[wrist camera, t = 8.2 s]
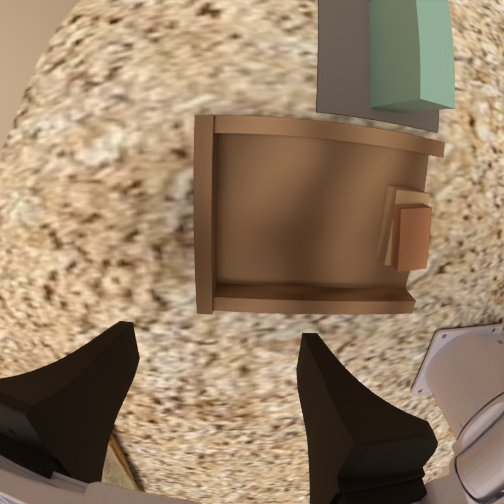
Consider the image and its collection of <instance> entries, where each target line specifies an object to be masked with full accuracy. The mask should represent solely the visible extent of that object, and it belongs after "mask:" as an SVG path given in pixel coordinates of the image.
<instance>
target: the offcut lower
mask: <svg viewBox="0 0 504 504" xmlns="http://www.w3.org/2000/svg"><path fill="white" fill-rule="evenodd" d="M429 195H430V194H429V193H426V192H424V191H421V190H419V189H413V188H405V187H398V186H390V185H387V190H386V198H385V206H384V213H383V219H382V226H381V232H380V238H379V244H378V250H377V255H376V256H377V257H378V258H379V260H380V261H381V262H382V263H383V264H384V265H391V264H390V263H391V248H392V228H393V205H396V204H417V203H423V204H425V205H427V206H428V201H429Z"/></svg>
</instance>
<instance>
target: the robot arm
mask: <svg viewBox="0 0 504 504" xmlns="http://www.w3.org/2000/svg"><path fill="white" fill-rule="evenodd" d="M502 328H503V326H502V325H501V324H494V325H485V326H477V327H467V328H457V329H446V330H439V331H437V332H436V333H435V335H434V338H433V340H432V343H431V345H430V348H429V350H428V353H427V355H426V358H425V360H424V362H423V365H422V367H421V369H420V372H419V374H418V376H417V378H416V381H415V383H414V385H413V387H412V389H411V393H412V394H413V395H416V394H423V393H429V392H432V394H433V396H434V398H435V400H436V401H437V403H438V405H439V407H440V409H441V411H442V413H443V415H444V417H445V418H446V420H447V422H448V424H449V426H450V428H451V430H452V432H453V434H454V436H455V438H456V440H457V441H456V443H455V444H454V445H453V446H452V449H453V451H454V453H455V456H454V457H453V458H452V459H451V461H450V466H449V475H446V476H443V477H440V478H437V479H434V480H431V481H429V482H428V483H426V484H425V485H424V483H423V480H422V478H423V477H424V476H425V472H424V470H423V466H424V465H425V464H426V462H427V461H428V460H429V459H430V457H431V456H432V455H433V453H434V452H435V450H436V448H437V445H438V442H437V439H436V437H435V435H434V432H433V430H432V428H431V426H430V424H429V423H428V421H426V420H423V419H421V418H418V417H416V416H413V415H411V414H408V413H406V412H404V411H402V410H400V409H399V408H397V407H395V406H393V405H391V404H390V403H388V402H386V401H385V400H383V399H382V398H380V397H379V396H377V395H376V394H374V393H373V392H372V391H370V390H369V389H368V388H367V387H365V386H364V385H363V384H362V383H360V382H359V381H358V380H357V379H356V378H355V377H354V376H353V375H352V374H351V373H350V372H349V371H348V370H347V369H346V368H345V367H344V366H343V365H342V364H341V362H340V361H339V360H338V359H337V358H336V357H335V356H334V354H333V353H332V352H331V351H330V349H329V348H328V347H327V346H326V344H325V343H324V342H323V340H322V339H321V338H320V336H319V335H318V334H317V333H302V339H301V345H300V351H299V357H298V363H297V369H296V370H297V385H298V393H299V398H300V403H301V408H302V413H303V418H304V423H305V428H306V434H307V442H308V457H309V478H310V504H504V492H501V491H502V490H503V489H504V337H503V336H502V335H501V334H500V333H501V331H502ZM139 360H140V357H139V352H138V347H137V342H136V337H135V332H134V327H133V322H125V321H119V322H118V323H116V324H114V325H113V326H112V327H110V328H109V329H107V330H106V331H104V332H103V333H102V334H100V335H99V336H97V337H96V338H94V339H93V340H91V341H90V342H89V343H87V344H85V345H84V346H82V347H81V348H79V349H77V350H76V351H74V352H73V353H71V354H69V355H68V356H66V357H64V358H62V359H60V360H58V361H56V362H54V363H52V364H49V365H47V366H44V367H42V368H39V369H36V370H34V371H31V372H27V373H24V374H20V375H17V376H12V377H7V378H1V379H0V504H201V503H198V502H194V501H189V500H185V499H179V498H173V497H167V496H161V495H156V494H151V493H146V492H141V491H137V490H133V489H129V488H124V487H121V486H117V485H113V484H109V483H104V482H101V481H102V474H103V468H104V463H105V458H106V453H107V449H108V444H109V440H110V437H111V433H112V430H113V426H114V423H115V420H116V417H117V415H118V412H119V410H120V408H121V406H122V404H123V401H124V399H125V397H126V395H127V393H128V390H129V388H130V386H131V384H132V381H133V379H134V377H135V373H136V370H137V367H138V363H139Z"/></svg>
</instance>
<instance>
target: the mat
mask: <svg viewBox="0 0 504 504" xmlns="http://www.w3.org/2000/svg"><path fill="white" fill-rule="evenodd" d="M371 1H372V0H318V72H317V101H316V112H321V113H330V114H338V115H345V116H353V117H359V118H366V119H372V120H378V121H384V122H389V123H394V124H399V125H404V126H409V127H414V128H419V129H423V130H427V131H432V132H436V133H438V126H439V109H437V110H424V111H412V112H402V113H394V112H389V111H383V110H378V109H372V108H369V105H370V20H369V3H370V2H371Z"/></svg>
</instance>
